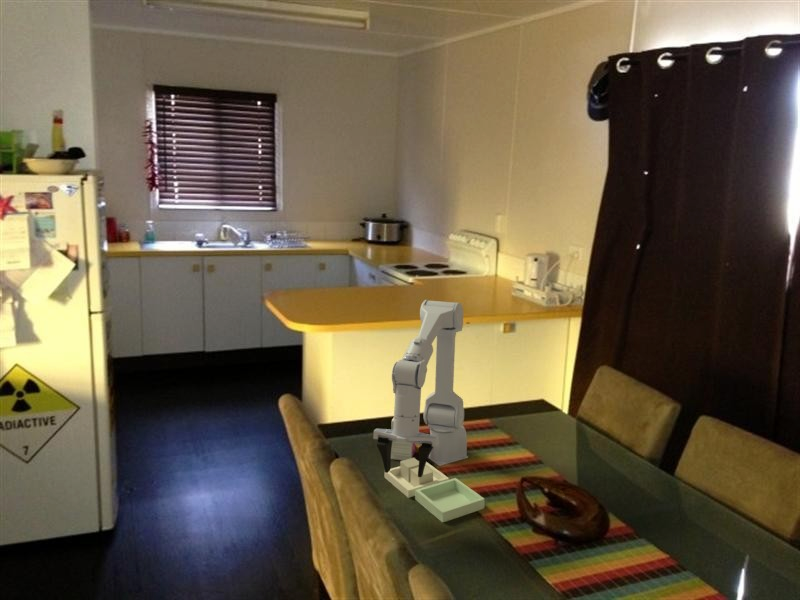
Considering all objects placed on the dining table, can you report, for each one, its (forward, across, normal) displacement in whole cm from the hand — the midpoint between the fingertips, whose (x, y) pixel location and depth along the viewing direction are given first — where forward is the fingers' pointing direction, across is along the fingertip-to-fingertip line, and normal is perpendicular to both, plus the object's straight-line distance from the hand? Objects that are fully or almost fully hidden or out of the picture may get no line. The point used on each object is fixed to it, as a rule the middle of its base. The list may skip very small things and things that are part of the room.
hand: (403, 473), depth 154 cm
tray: (+8, -1, +16) cm, 18 cm away
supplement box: (+6, -8, +29) cm, 31 cm away
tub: (+9, +9, +8) cm, 15 cm away
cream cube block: (+7, -3, +18) cm, 20 cm away
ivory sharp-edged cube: (+8, +1, +15) cm, 17 cm away
